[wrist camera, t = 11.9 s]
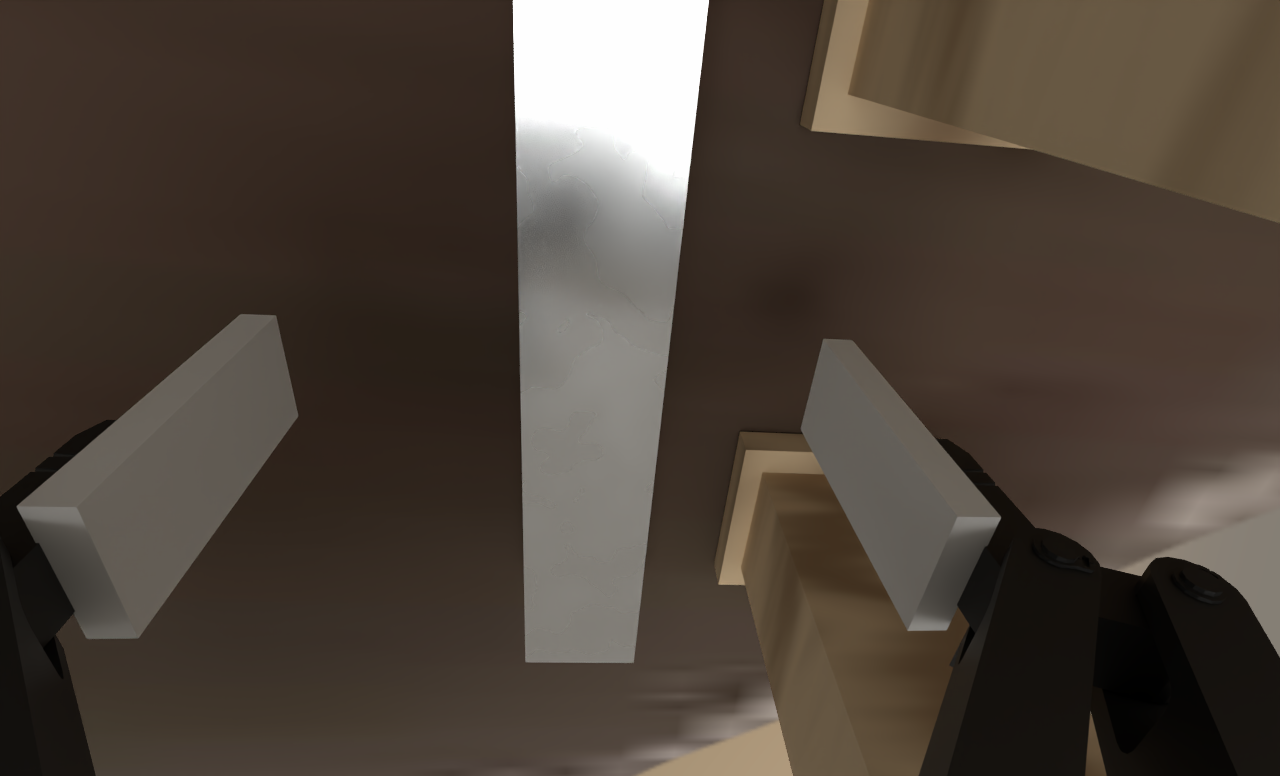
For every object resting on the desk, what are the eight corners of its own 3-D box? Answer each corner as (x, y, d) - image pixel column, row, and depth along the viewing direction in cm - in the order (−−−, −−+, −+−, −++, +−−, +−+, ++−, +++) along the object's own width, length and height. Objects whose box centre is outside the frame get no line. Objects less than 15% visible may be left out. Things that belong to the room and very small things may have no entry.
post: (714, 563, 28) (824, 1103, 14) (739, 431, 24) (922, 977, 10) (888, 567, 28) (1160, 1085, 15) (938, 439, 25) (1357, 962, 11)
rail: (537, 562, 28) (525, 662, 23) (534, -252, 15) (506, -367, 10) (628, 563, 28) (633, 662, 24) (704, -230, 15) (746, -333, 11)
